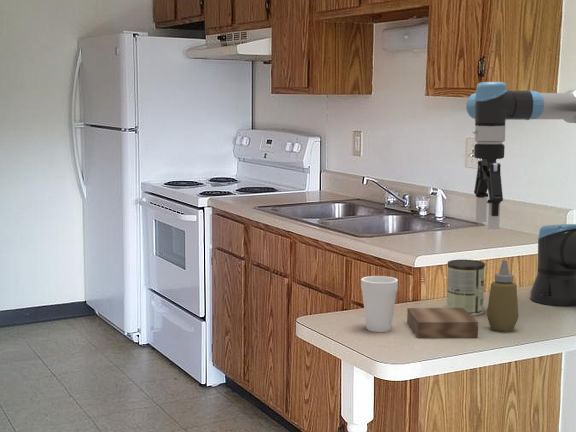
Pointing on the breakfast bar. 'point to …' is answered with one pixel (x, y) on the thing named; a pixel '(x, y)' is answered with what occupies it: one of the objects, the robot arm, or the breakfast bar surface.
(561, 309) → the breakfast bar surface
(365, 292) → the foam cup
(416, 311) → the walnut base
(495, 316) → the squeeze bottle
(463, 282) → the coffee can
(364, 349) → the breakfast bar surface
